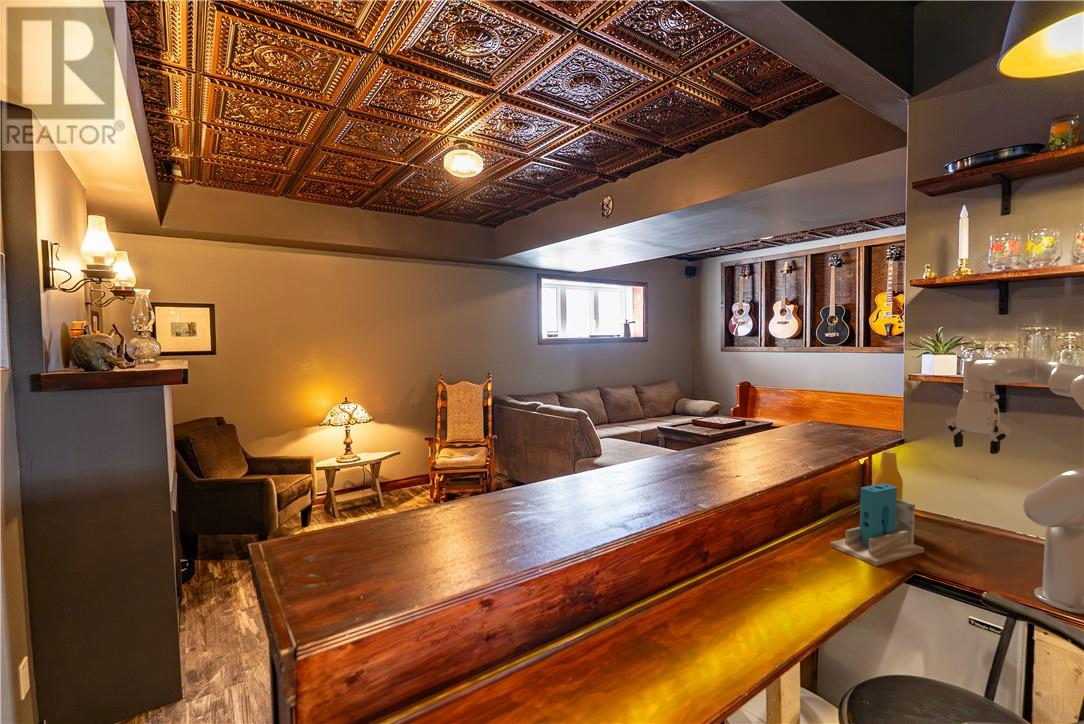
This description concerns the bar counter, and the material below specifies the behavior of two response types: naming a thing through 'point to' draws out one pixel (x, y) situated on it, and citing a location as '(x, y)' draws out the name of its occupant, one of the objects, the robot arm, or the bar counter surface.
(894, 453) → the beer bottle
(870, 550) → the book stand
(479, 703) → the bar counter surface
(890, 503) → the block
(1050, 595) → the robot arm
